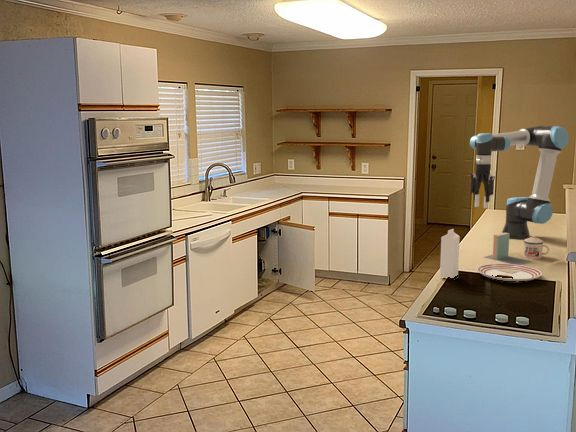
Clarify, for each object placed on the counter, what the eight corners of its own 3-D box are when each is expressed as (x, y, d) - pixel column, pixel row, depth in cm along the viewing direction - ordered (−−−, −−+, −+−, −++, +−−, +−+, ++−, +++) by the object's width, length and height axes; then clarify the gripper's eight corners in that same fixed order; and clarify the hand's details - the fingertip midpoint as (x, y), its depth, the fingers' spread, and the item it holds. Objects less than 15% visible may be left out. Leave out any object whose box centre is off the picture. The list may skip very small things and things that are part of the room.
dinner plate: (471, 268, 278) (471, 261, 277) (531, 269, 275) (531, 262, 274) (483, 285, 251) (483, 278, 251) (550, 287, 248) (550, 279, 248)
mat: (482, 258, 294) (482, 257, 294) (497, 255, 301) (497, 253, 301) (518, 267, 278) (518, 265, 278) (533, 263, 285) (533, 261, 285)
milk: (458, 277, 263) (460, 229, 259) (452, 280, 258) (454, 231, 254) (445, 275, 267) (447, 227, 263) (439, 278, 262) (441, 229, 258)
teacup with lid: (521, 259, 292) (522, 236, 290) (524, 255, 300) (525, 232, 298) (547, 262, 286) (548, 238, 284) (549, 257, 294) (551, 235, 292)
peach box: (492, 258, 291) (493, 234, 289) (503, 255, 296) (505, 232, 294) (497, 259, 289) (498, 235, 287) (508, 256, 294) (509, 233, 292)
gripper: (464, 162, 310) (462, 205, 315) (493, 165, 296) (491, 210, 300) (473, 161, 315) (471, 204, 319) (502, 164, 300) (500, 208, 304)
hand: (481, 207), depth 310 cm, fingers open, 5 cm apart
